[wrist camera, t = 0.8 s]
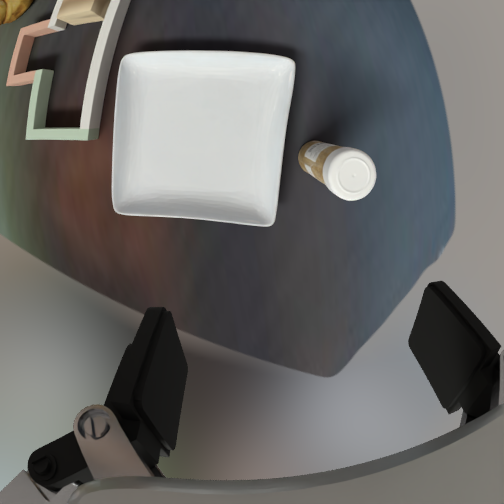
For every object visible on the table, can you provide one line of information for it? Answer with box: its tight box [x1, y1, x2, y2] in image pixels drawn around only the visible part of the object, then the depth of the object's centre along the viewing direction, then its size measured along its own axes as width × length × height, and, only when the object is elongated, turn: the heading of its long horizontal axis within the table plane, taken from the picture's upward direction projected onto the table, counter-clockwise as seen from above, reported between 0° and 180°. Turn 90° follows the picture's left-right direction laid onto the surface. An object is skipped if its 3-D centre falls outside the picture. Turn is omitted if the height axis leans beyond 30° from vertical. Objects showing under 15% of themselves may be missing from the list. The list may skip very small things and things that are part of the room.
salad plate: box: [112, 50, 295, 226], centre depth 31 cm, size 21×21×3 cm
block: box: [57, 0, 111, 25], centre depth 20 cm, size 6×6×5 cm
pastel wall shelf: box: [6, 0, 131, 140], centre depth 24 cm, size 24×19×3 cm
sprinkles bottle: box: [298, 141, 376, 201], centre depth 28 cm, size 5×5×13 cm
